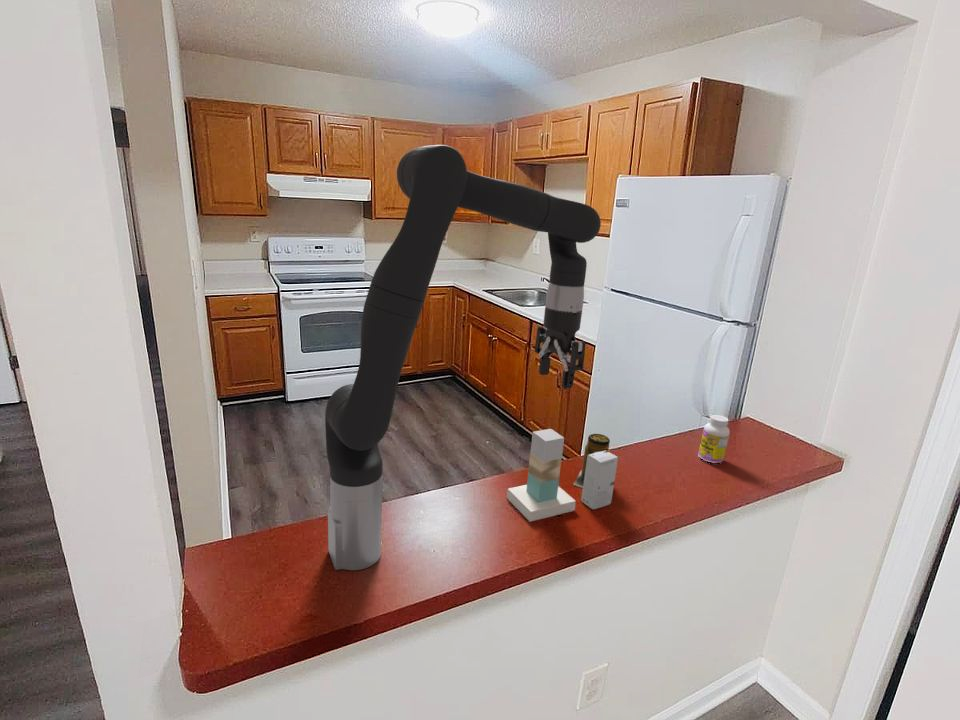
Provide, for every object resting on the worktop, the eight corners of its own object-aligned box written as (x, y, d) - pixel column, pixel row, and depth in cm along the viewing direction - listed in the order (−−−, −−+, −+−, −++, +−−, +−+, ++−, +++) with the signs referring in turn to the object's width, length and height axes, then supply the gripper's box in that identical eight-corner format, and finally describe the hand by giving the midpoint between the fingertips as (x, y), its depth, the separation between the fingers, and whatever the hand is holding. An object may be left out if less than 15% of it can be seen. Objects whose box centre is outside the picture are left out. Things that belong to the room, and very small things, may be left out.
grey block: (543, 462, 114) (545, 441, 113) (530, 452, 118) (532, 431, 117) (561, 458, 116) (564, 437, 115) (548, 448, 121) (551, 428, 119)
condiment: (608, 478, 135) (615, 435, 131) (602, 493, 127) (609, 449, 124) (580, 471, 138) (586, 429, 134) (572, 485, 130) (579, 441, 127)
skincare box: (593, 510, 120) (600, 463, 116) (579, 501, 124) (586, 454, 120) (612, 503, 123) (620, 457, 120) (598, 494, 127) (605, 449, 123)
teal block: (538, 502, 117) (540, 482, 116) (526, 491, 121) (528, 471, 120) (556, 498, 119) (559, 478, 118) (544, 487, 123) (546, 468, 122)
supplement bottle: (692, 454, 151) (701, 413, 148) (711, 453, 153) (720, 412, 150) (708, 466, 145) (718, 423, 142) (728, 464, 147) (738, 422, 144)
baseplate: (529, 521, 114) (530, 511, 113) (506, 498, 122) (507, 488, 122) (574, 510, 120) (575, 500, 119) (549, 488, 128) (550, 479, 127)
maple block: (540, 482, 116) (542, 462, 114) (528, 471, 120) (530, 452, 118) (559, 478, 118) (561, 458, 116) (546, 468, 122) (548, 448, 121)
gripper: (529, 299, 112) (522, 372, 116) (569, 314, 100) (560, 394, 104) (558, 298, 115) (550, 369, 120) (600, 313, 103) (590, 390, 108)
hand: (554, 380), depth 112 cm, fingers open, 8 cm apart
